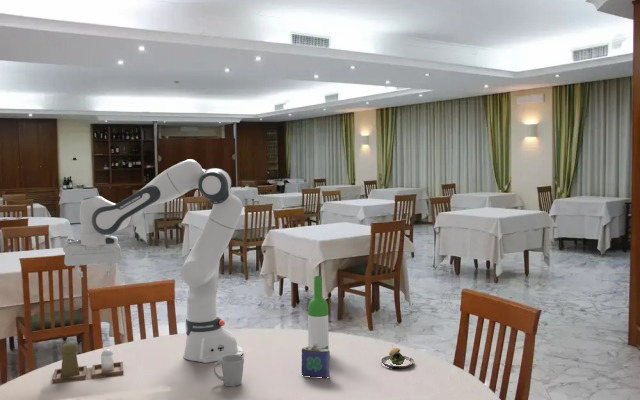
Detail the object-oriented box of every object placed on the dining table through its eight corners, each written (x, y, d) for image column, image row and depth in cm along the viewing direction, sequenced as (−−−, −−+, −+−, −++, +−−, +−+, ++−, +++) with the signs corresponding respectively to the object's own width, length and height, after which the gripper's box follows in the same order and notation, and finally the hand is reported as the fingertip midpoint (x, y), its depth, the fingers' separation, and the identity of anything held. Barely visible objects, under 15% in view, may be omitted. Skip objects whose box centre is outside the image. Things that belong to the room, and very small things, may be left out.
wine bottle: (332, 352, 227) (332, 275, 225) (321, 358, 220) (321, 279, 218) (315, 349, 231) (315, 273, 229) (304, 355, 224) (303, 277, 222)
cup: (244, 387, 192) (243, 361, 192) (213, 388, 191) (212, 363, 191) (244, 378, 200) (244, 354, 199) (214, 380, 199) (214, 355, 198)
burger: (391, 372, 206) (391, 352, 205) (375, 362, 217) (375, 342, 216) (420, 368, 211) (420, 347, 210) (403, 358, 221) (403, 338, 221)
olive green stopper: (72, 379, 196) (71, 347, 195) (56, 378, 197) (55, 346, 196) (83, 373, 202) (82, 341, 201) (67, 371, 203) (66, 340, 202)
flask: (330, 376, 202) (330, 343, 201) (328, 379, 199) (327, 346, 198) (302, 373, 205) (302, 341, 204) (300, 377, 202) (299, 344, 201)
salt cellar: (113, 368, 206) (113, 347, 205) (113, 372, 202) (113, 350, 202) (101, 370, 205) (101, 348, 204) (101, 373, 201) (100, 351, 200)
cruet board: (122, 368, 211) (122, 360, 211) (123, 379, 200) (123, 371, 199) (55, 375, 203) (55, 368, 203) (52, 388, 192) (52, 380, 192)
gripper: (62, 241, 213) (63, 279, 214) (121, 239, 220) (122, 275, 221) (63, 239, 219) (64, 276, 220) (121, 237, 226) (122, 272, 227)
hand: (94, 276), depth 221 cm, fingers open, 8 cm apart
